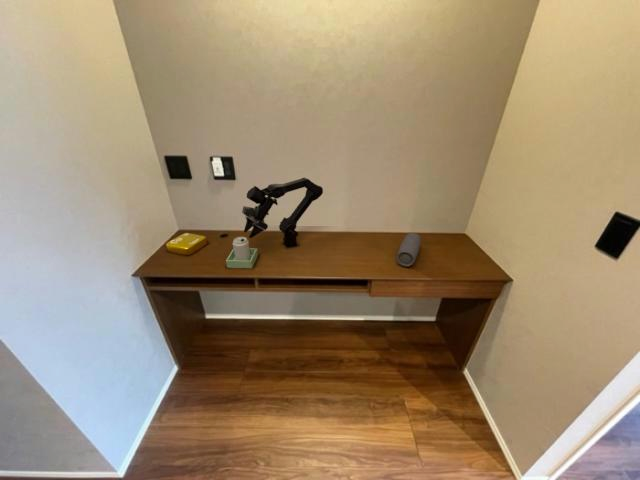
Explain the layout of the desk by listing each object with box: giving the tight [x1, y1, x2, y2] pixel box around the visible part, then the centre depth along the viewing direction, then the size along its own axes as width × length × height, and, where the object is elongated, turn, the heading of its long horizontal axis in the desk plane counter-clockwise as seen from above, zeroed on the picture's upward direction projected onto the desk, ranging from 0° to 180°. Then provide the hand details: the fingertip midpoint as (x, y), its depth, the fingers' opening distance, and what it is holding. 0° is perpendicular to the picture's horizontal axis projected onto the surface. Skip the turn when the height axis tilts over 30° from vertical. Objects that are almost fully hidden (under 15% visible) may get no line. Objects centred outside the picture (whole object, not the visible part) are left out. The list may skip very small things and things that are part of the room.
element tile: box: [165, 232, 208, 256], centre depth 143 cm, size 15×15×5 cm
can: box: [232, 236, 251, 261], centre depth 129 cm, size 8×8×12 cm
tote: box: [225, 247, 259, 269], centre depth 131 cm, size 12×12×4 cm
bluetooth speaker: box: [396, 232, 422, 267], centre depth 135 cm, size 23×9×10 cm, turn 154°
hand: (247, 234), depth 129 cm, fingers open, 9 cm apart
